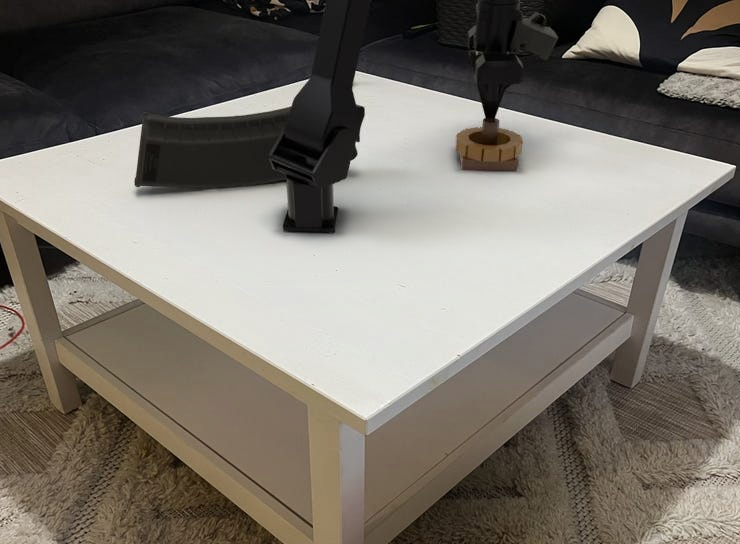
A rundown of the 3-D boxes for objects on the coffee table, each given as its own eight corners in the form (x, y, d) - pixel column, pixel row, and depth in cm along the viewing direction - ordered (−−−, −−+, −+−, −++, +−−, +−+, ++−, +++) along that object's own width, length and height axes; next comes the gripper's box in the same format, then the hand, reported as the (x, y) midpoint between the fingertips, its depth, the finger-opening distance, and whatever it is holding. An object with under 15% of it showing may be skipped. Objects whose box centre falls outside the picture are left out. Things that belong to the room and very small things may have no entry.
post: (516, 171, 106) (522, 130, 103) (461, 169, 107) (465, 128, 103) (510, 150, 113) (515, 111, 109) (458, 149, 113) (461, 110, 109)
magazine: (104, 131, 92) (324, 45, 93) (104, 123, 95) (319, 39, 96) (165, 243, 103) (362, 166, 104) (164, 233, 106) (357, 157, 106)
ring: (524, 162, 105) (526, 150, 104) (457, 161, 105) (458, 148, 104) (517, 139, 113) (518, 127, 111) (454, 137, 113) (455, 126, 112)
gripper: (570, 18, 93) (551, 137, 103) (547, -16, 108) (532, 91, 118) (482, 18, 94) (472, 136, 103) (471, -16, 108) (463, 91, 118)
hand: (487, 112), depth 111 cm, fingers open, 7 cm apart
